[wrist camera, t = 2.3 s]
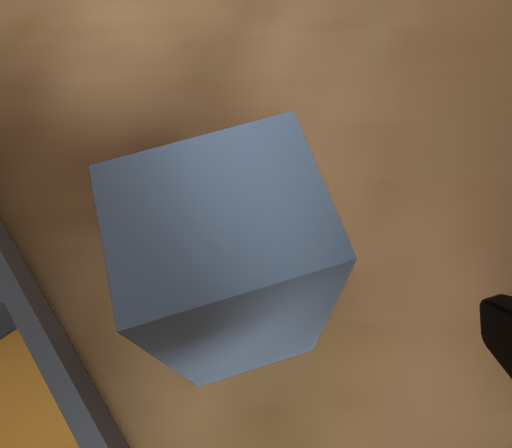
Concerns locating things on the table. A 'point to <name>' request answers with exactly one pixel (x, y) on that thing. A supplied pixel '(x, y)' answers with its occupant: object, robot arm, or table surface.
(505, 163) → the table surface
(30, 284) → the rack
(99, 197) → the panel block
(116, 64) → the table surface
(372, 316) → the table surface
